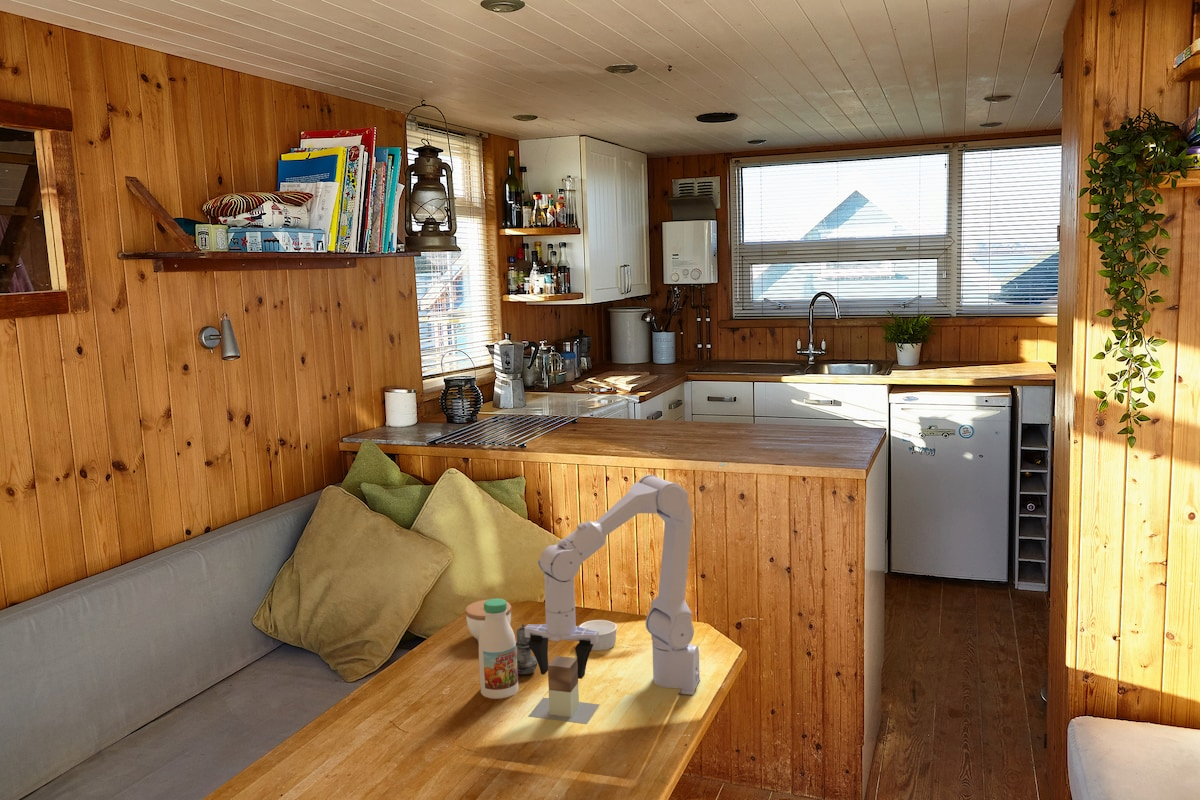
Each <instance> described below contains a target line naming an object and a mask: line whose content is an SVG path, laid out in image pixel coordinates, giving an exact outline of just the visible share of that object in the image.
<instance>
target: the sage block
mask: <svg viewBox="0 0 1200 800" xmlns="http://www.w3.org/2000/svg"><path fill="white" fill-rule="evenodd" d="M579 695H580V694H579V682H578V683H577V685H576V686H575V687H574V689H573V690H572V691H571V692H563V691H555V690H549V689H548V698H549V714H551V715H559V716H567V717H572V715H573V714H574V713H575V711H576V710H577V708H578V707H579V702H580V700H579V698H580V697H579Z"/></svg>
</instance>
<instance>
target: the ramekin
mask: <svg viewBox="0 0 1200 800" xmlns="http://www.w3.org/2000/svg"><path fill="white" fill-rule="evenodd" d="M578 627H582V628H585V629H589V630H593V631H598V635H599V641H598V642H597V643H596V644H594V645H593V647H592V649H591V652H592V651H593V652H602V651H606V650H609V649H612V648H613V647H615V645H616V641H617V629H618V625H617V623H616V622H613V621H610V620H607V619H606V620H605V619H595V620H594V619H592V620H588V621H585V622H583V623H581V624H580V625H579V626H578Z"/></svg>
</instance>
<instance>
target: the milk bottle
mask: <svg viewBox="0 0 1200 800" xmlns="http://www.w3.org/2000/svg"><path fill="white" fill-rule="evenodd" d="M489 599H490V600H489ZM489 599H486V600H487V601H486V602H485V603H484V610H485V611H484V613H485V614H486V618H485V622H484V625H483V628H482V630H481V633H480V637H479V642H478V662H479V663H478V664H479V666H478V667H479V668H478V669H479V682H480V694H481V695H482V696H483V697H485V698H488V699H491V700H492V699H493V700H494V699H498V700H500V699H506V698H509V697H512V696H514V695H515V694H517V692H518V691H519V674H518V670H517V647H516V643H517V639H516V636H515V633H514V630H513V628H512V626H511V623H510V624H509V622H508V620H507V617H506V612H507V603H506V602H507V600H505V599H503V598H489Z"/></svg>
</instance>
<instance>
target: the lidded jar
mask: <svg viewBox="0 0 1200 800" xmlns="http://www.w3.org/2000/svg"><path fill="white" fill-rule="evenodd" d="M490 599H491V598H489V599H481V600H477V601H475V602H472V603H470V604H468V605H467V606H466V608H465V615H466V616H465V617H466V623H467V624H466V625H467V628H468V631H469V632H470V635H471V636H472V637H473V638H474V639H476V641H477V642H478V643H479V637H480V633H481V630H482V628H483V625H484V622H485V618H486V614H485V613H484V611H485V610H484V603H485V602H486V601H487V600H490ZM506 603H507V612H506V617H507V620H508V622H509V624H510V625H511V622H512V605H511V604H510V602H508V601H506Z"/></svg>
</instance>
